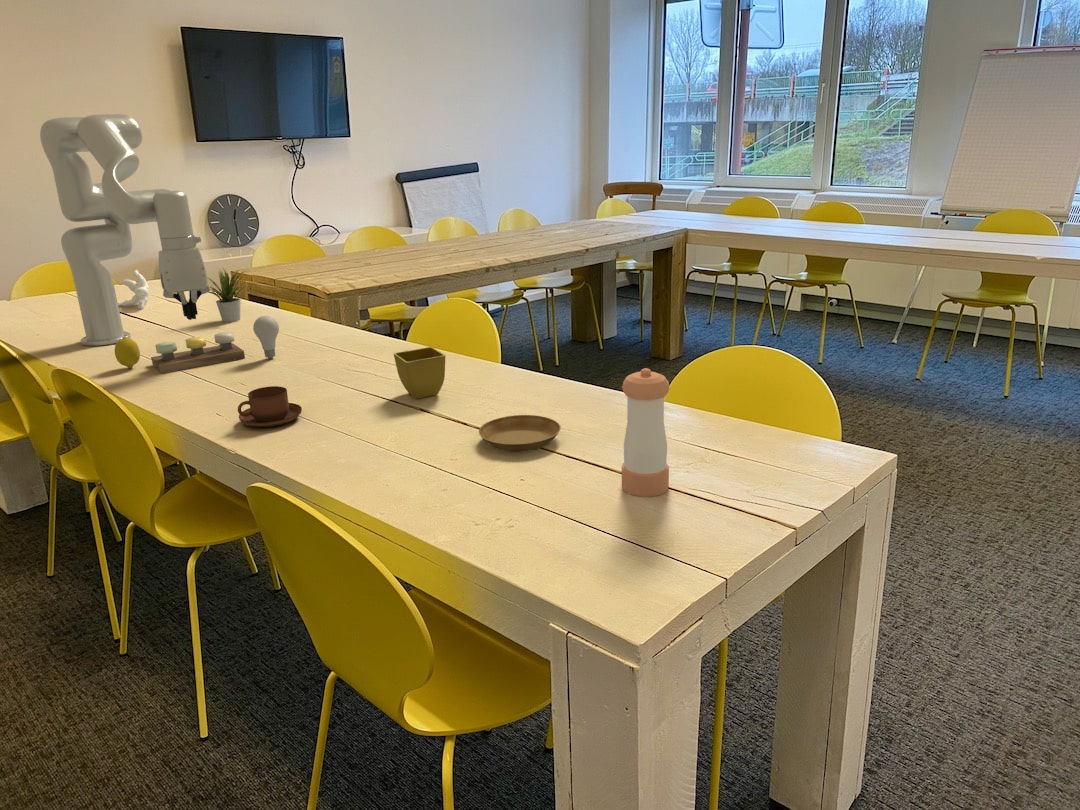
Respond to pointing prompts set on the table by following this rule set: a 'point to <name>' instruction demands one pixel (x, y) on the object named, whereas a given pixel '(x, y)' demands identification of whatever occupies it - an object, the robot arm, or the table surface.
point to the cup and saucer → (268, 407)
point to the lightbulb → (267, 334)
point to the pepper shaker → (645, 435)
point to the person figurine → (137, 291)
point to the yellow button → (196, 345)
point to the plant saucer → (519, 432)
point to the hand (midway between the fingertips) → (191, 318)
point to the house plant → (228, 297)
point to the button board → (197, 358)
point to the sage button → (166, 350)
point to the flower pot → (421, 371)
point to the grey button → (224, 340)
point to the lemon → (127, 352)
